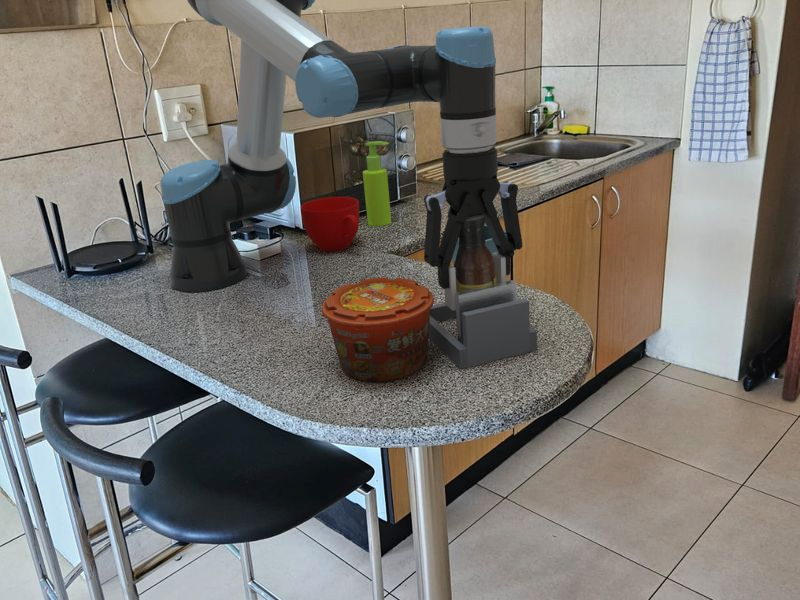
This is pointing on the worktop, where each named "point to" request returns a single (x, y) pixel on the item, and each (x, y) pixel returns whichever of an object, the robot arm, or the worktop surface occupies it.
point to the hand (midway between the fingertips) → (475, 301)
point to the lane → (484, 333)
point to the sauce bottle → (473, 256)
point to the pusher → (483, 300)
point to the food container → (380, 328)
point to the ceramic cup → (331, 221)
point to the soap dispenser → (376, 188)
